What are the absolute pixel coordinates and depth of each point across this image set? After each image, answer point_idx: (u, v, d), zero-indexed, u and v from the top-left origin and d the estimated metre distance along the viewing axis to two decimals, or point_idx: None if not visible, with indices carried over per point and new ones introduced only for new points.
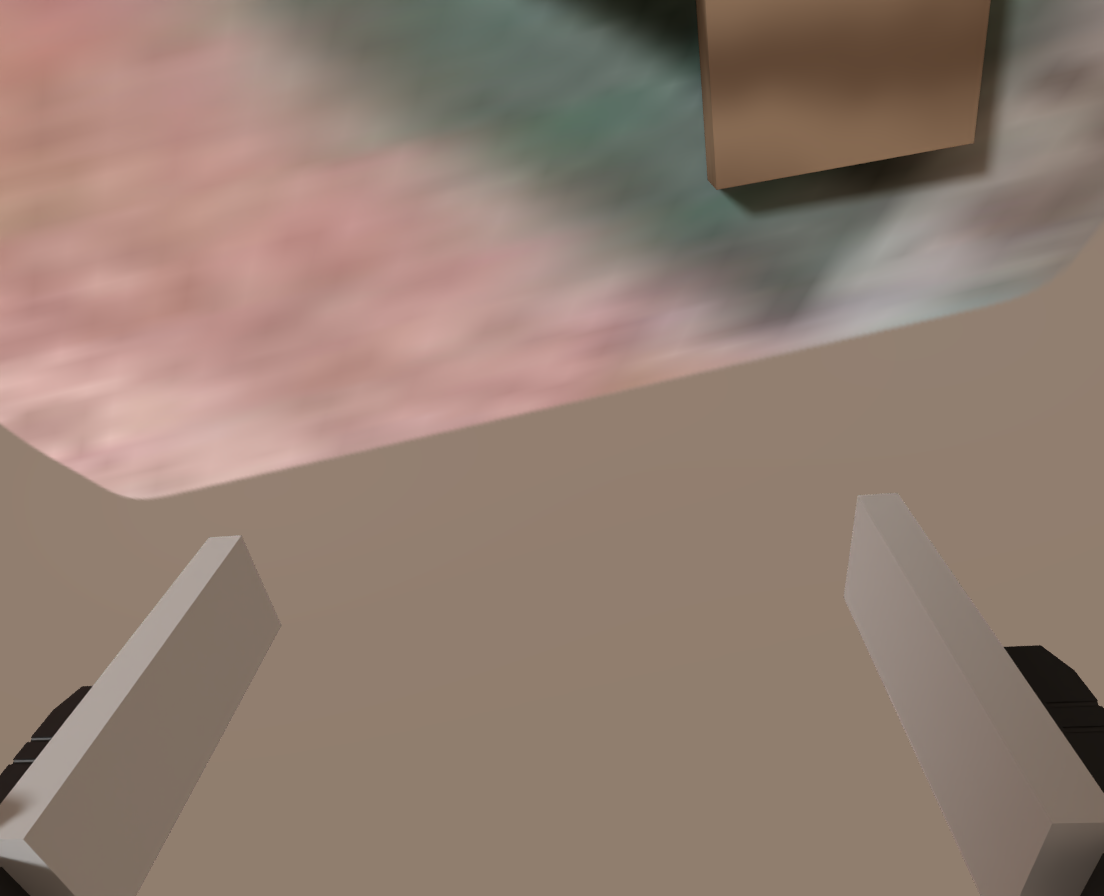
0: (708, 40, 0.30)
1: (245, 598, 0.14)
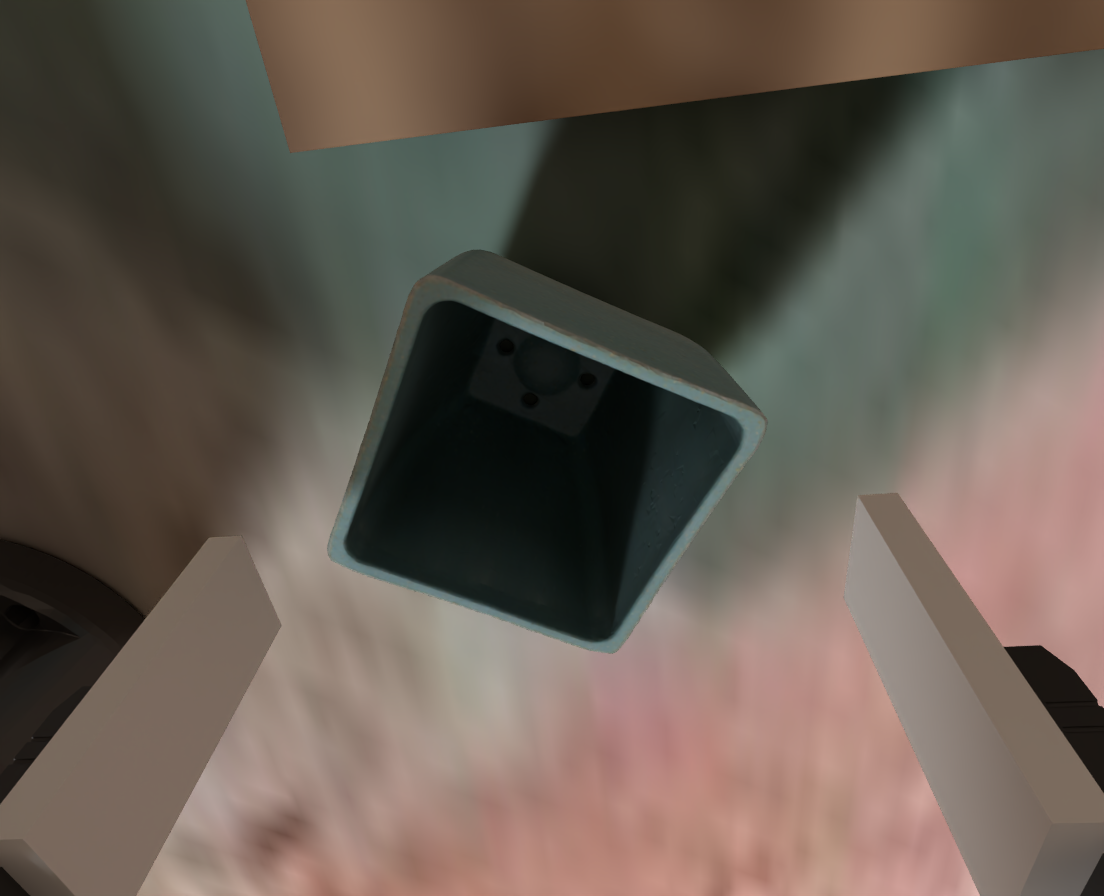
0: (958, 65, 0.17)
1: (245, 598, 0.14)
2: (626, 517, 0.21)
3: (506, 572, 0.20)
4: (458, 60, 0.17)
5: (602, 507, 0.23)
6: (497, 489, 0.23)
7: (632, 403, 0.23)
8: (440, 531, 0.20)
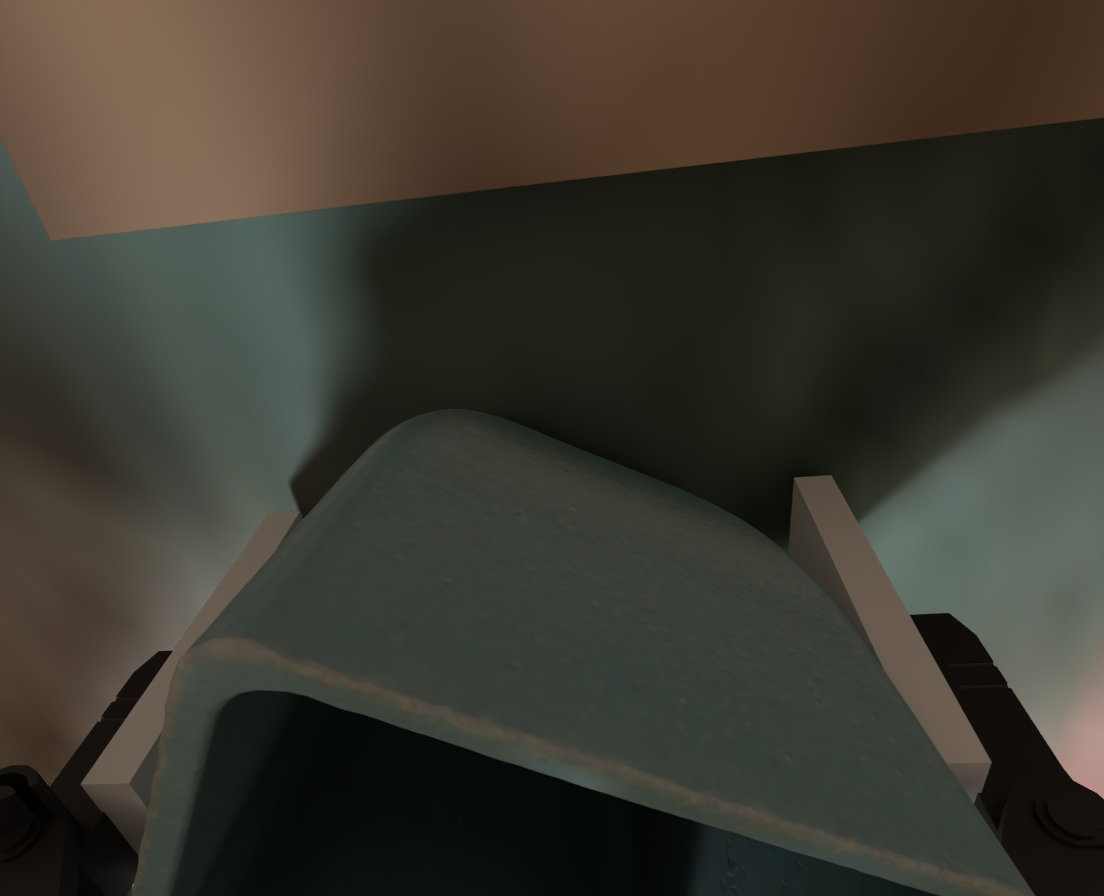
0: None
1: None
2: (677, 850, 0.12)
3: None
4: (357, 64, 0.08)
5: None
6: (463, 761, 0.14)
7: None
8: None
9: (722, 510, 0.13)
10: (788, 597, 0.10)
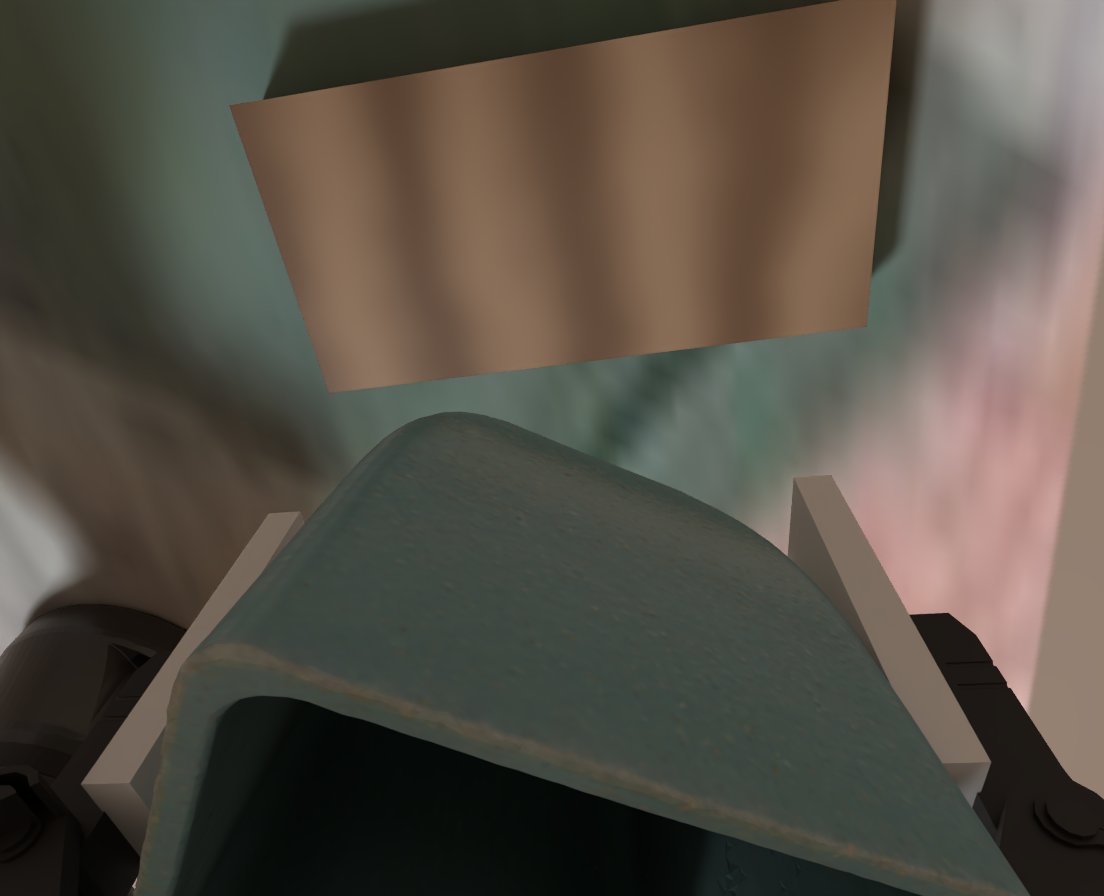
0: (712, 344, 0.29)
1: None
2: (676, 852, 0.12)
3: None
4: (426, 346, 0.30)
5: None
6: (462, 763, 0.14)
7: None
8: None
9: (722, 513, 0.13)
10: (787, 601, 0.10)
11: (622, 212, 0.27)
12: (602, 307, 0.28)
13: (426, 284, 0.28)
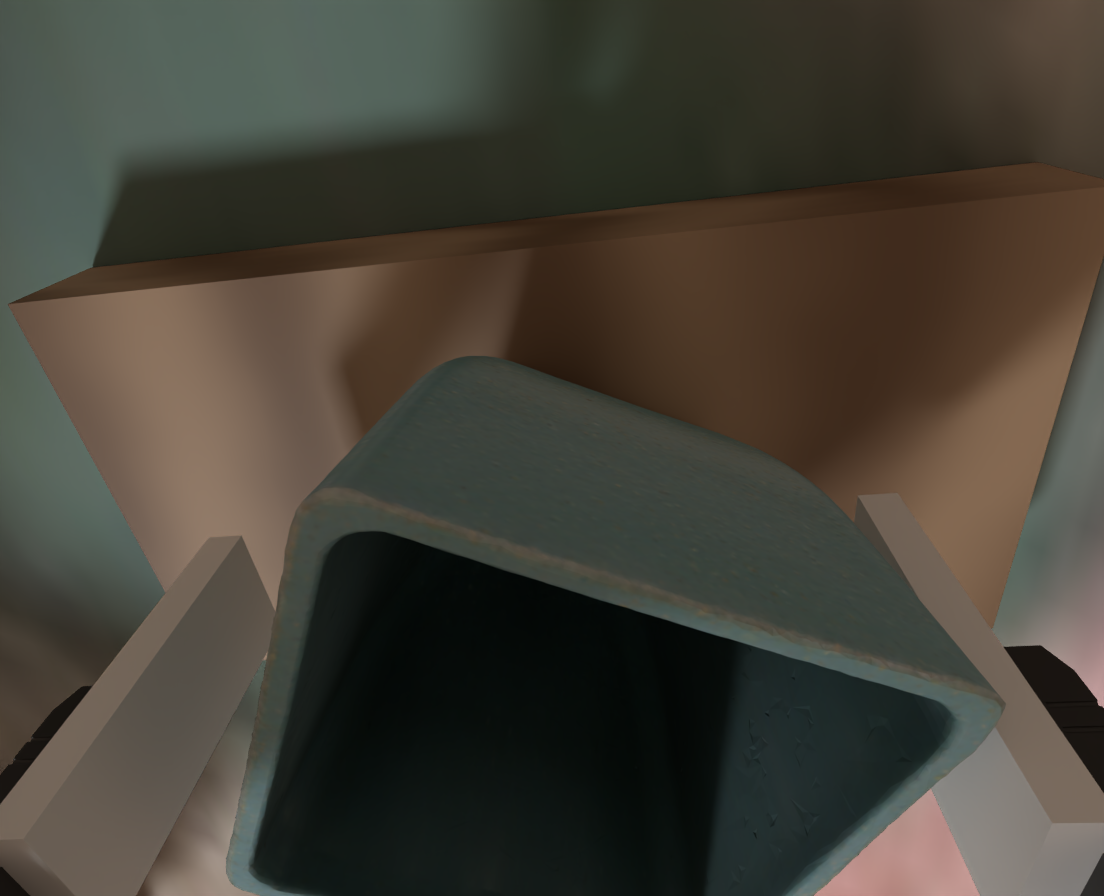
0: None
1: (245, 598, 0.14)
2: (706, 742, 0.14)
3: (525, 854, 0.13)
4: None
5: (664, 698, 0.16)
6: (509, 681, 0.16)
7: None
8: (421, 788, 0.13)
9: (731, 438, 0.14)
10: (789, 493, 0.11)
11: None
12: None
13: None
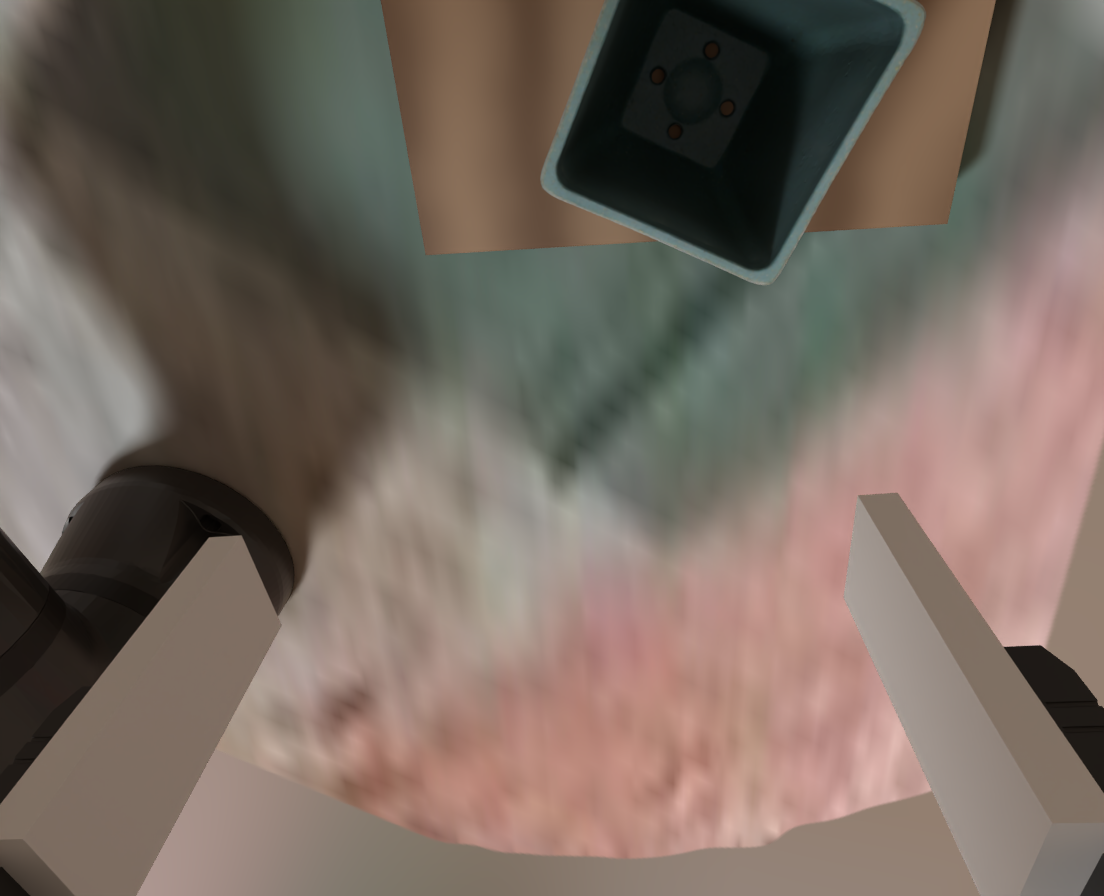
0: None
1: (245, 598, 0.14)
2: (774, 191, 0.25)
3: (676, 224, 0.24)
4: (524, 213, 0.31)
5: (744, 208, 0.27)
6: (654, 189, 0.27)
7: (772, 114, 0.27)
8: (619, 194, 0.24)
9: None
10: None
11: None
12: None
13: (533, 149, 0.30)
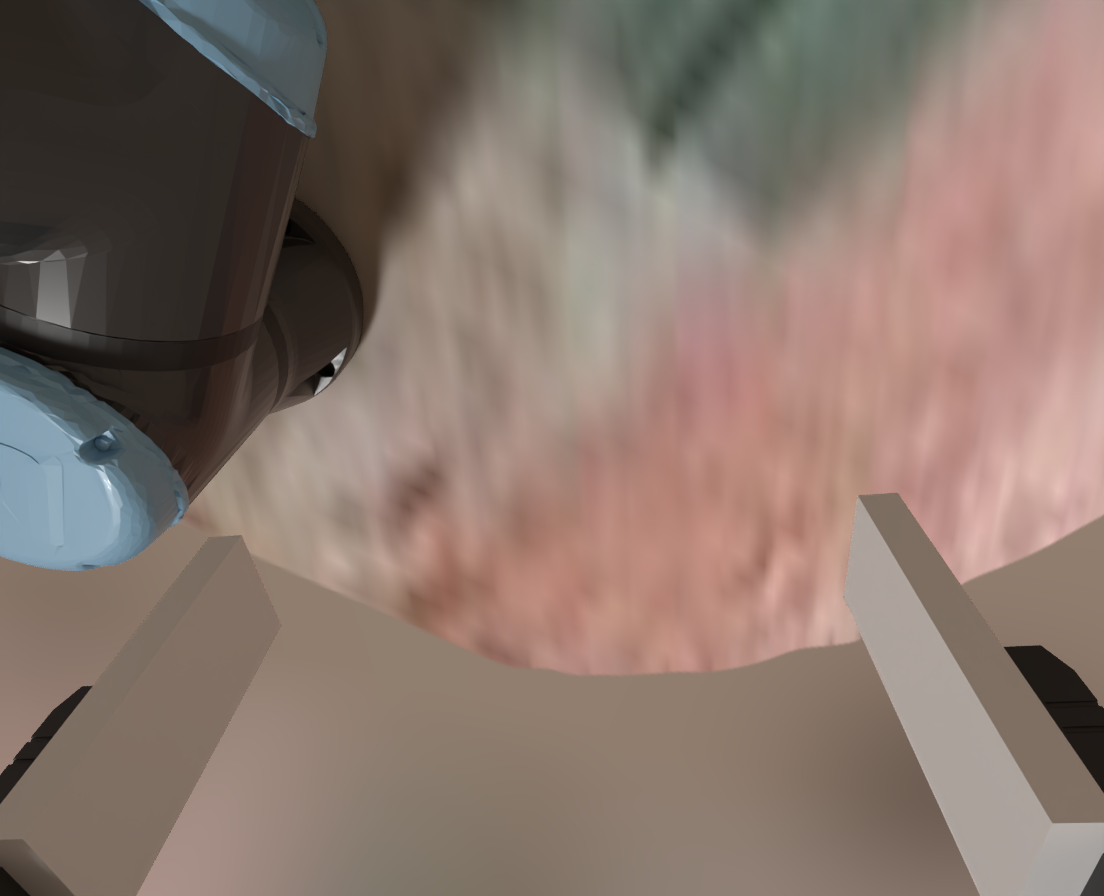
0: None
1: (245, 598, 0.14)
2: None
3: None
4: None
5: None
6: None
7: None
8: None
9: None
10: None
11: None
12: None
13: None
